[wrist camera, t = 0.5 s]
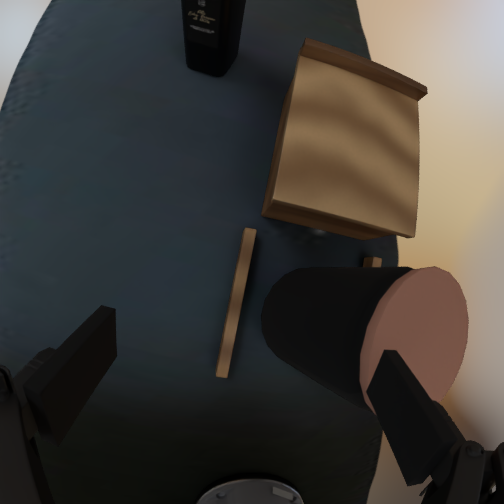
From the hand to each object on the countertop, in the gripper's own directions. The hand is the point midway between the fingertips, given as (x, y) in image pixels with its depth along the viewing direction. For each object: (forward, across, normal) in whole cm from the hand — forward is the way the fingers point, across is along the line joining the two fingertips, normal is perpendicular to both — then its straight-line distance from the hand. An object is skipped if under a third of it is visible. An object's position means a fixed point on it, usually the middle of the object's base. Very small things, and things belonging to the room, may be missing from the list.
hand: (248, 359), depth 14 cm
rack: (+23, -7, -2) cm, 24 cm away
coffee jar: (+19, -7, +6) cm, 21 cm away
